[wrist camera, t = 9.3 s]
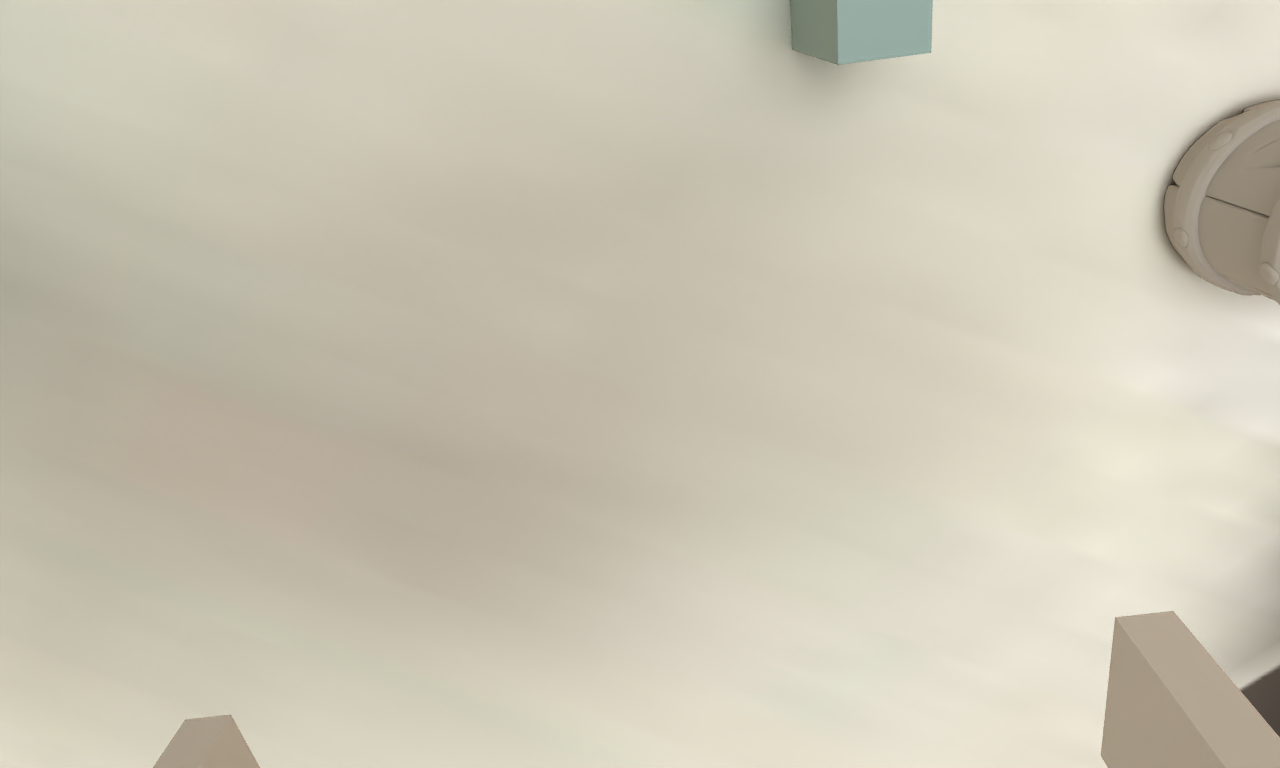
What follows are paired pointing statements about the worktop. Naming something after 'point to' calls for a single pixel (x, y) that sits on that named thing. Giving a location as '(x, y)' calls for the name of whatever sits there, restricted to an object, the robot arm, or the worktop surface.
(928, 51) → the grey-green framed piece
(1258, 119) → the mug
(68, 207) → the worktop surface
